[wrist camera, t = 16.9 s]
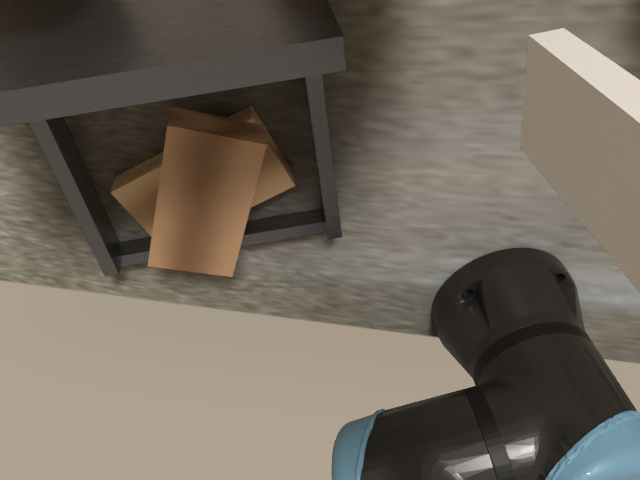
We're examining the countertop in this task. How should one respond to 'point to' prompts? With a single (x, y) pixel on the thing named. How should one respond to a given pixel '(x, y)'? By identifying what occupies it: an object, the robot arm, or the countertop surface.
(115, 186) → the offcut lower
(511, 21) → the countertop surface
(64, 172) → the stand
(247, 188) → the offcut upper
